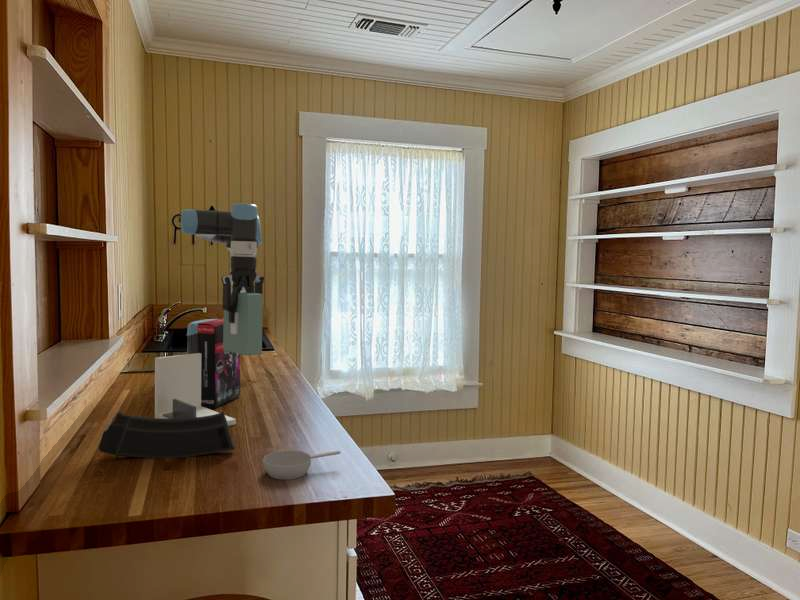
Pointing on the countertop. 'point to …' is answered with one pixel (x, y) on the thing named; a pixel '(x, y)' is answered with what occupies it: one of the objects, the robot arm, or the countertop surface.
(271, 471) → the saucepan
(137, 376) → the countertop surface
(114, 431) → the magazine
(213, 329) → the graphics card box
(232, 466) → the countertop surface
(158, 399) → the white panel stand
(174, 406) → the grey block bar
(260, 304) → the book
